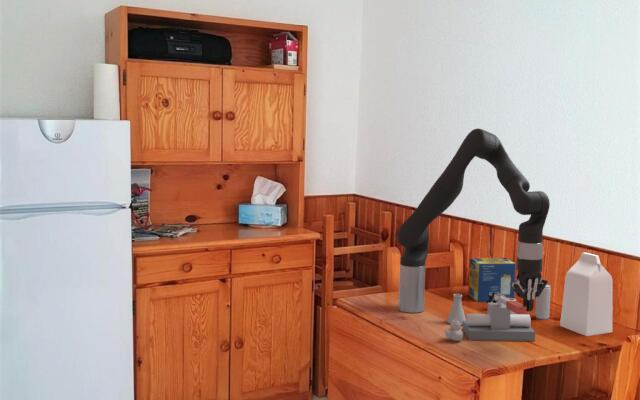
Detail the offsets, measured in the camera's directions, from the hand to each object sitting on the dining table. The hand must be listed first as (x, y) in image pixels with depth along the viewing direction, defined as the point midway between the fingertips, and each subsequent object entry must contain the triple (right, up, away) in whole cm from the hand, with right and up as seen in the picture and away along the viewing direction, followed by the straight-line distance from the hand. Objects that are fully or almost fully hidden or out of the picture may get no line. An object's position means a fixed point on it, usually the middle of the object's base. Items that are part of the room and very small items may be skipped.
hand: (528, 310), depth 202 cm
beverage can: (+15, -8, +32) cm, 37 cm away
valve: (+3, -8, +37) cm, 38 cm away
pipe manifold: (-6, -10, +13) cm, 17 cm away
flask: (-17, -9, +26) cm, 32 cm away
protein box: (+4, -5, +58) cm, 59 cm away
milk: (+26, -10, +20) cm, 34 cm away
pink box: (-5, +1, +5) cm, 7 cm away
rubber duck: (-22, -11, +7) cm, 25 cm away
